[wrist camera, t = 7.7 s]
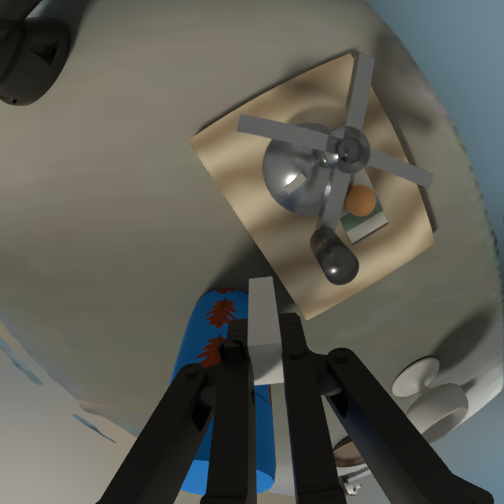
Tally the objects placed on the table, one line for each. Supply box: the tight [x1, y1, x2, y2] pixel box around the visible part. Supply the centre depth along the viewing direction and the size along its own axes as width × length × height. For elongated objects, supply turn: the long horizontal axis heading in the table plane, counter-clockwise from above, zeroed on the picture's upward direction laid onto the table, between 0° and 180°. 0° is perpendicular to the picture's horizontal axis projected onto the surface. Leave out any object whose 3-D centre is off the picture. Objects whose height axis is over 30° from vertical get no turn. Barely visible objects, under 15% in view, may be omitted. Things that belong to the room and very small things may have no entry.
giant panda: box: [338, 476, 361, 497], centre depth 64 cm, size 15×6×10 cm, turn 139°
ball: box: [345, 185, 376, 217], centre depth 29 cm, size 4×4×4 cm
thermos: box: [169, 289, 276, 495], centre depth 28 cm, size 11×11×25 cm
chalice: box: [392, 358, 468, 444], centre depth 40 cm, size 14×14×15 cm
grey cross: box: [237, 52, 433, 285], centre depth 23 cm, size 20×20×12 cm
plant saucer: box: [333, 437, 365, 467], centre depth 56 cm, size 21×21×3 cm
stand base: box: [188, 53, 435, 320], centre depth 32 cm, size 28×22×2 cm
